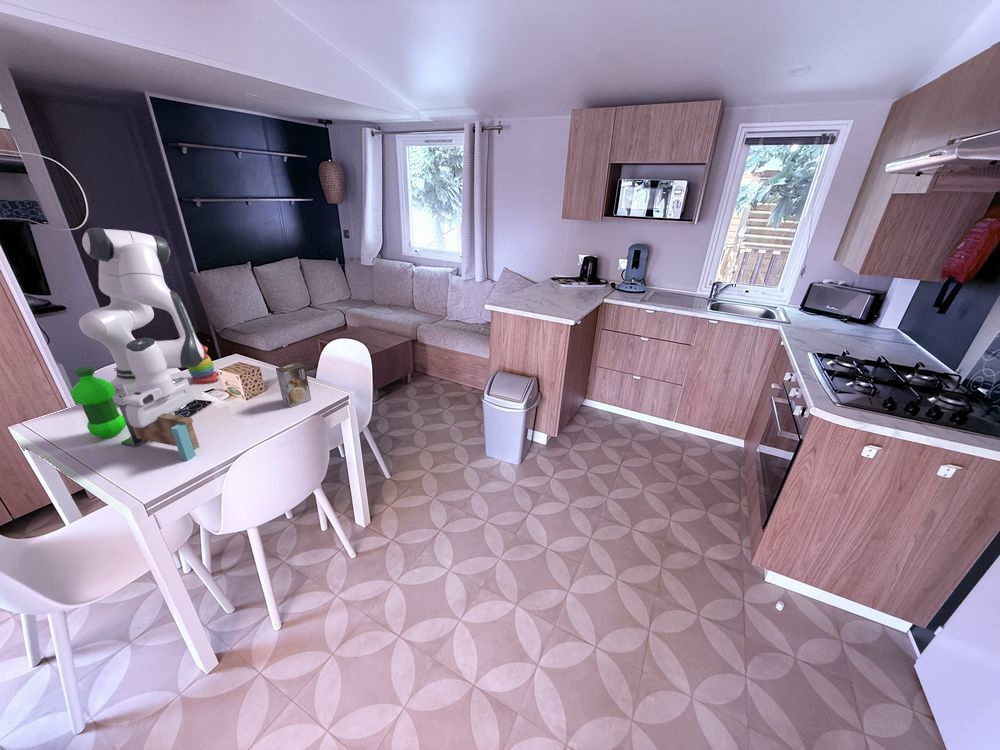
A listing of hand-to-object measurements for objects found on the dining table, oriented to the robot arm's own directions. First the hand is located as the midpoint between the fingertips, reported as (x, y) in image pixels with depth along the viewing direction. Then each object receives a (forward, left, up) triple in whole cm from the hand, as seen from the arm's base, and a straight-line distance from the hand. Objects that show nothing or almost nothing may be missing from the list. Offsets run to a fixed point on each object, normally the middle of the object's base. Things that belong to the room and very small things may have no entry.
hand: (170, 424), depth 135 cm
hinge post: (-13, -3, -7) cm, 15 cm away
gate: (+1, -3, -5) cm, 6 cm away
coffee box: (+19, +37, -8) cm, 42 cm away
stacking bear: (-33, +43, -8) cm, 54 cm away
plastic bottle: (-26, -2, -7) cm, 27 cm away
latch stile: (+11, -6, -7) cm, 15 cm away
